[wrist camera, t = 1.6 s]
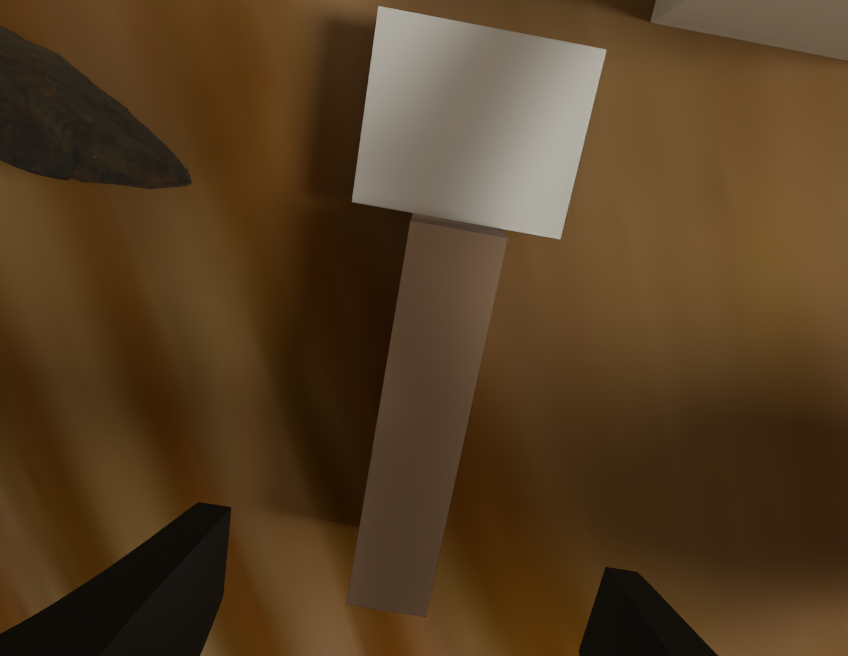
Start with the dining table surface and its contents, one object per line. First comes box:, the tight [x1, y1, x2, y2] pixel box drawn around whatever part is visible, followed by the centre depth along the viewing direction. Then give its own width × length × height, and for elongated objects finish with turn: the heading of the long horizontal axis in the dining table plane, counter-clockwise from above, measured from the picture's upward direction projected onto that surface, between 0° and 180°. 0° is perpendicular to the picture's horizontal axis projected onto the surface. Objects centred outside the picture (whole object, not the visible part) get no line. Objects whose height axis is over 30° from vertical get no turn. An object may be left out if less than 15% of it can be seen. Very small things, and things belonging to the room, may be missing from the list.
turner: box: [346, 6, 606, 617], centre depth 18 cm, size 6×17×4 cm, turn 170°
